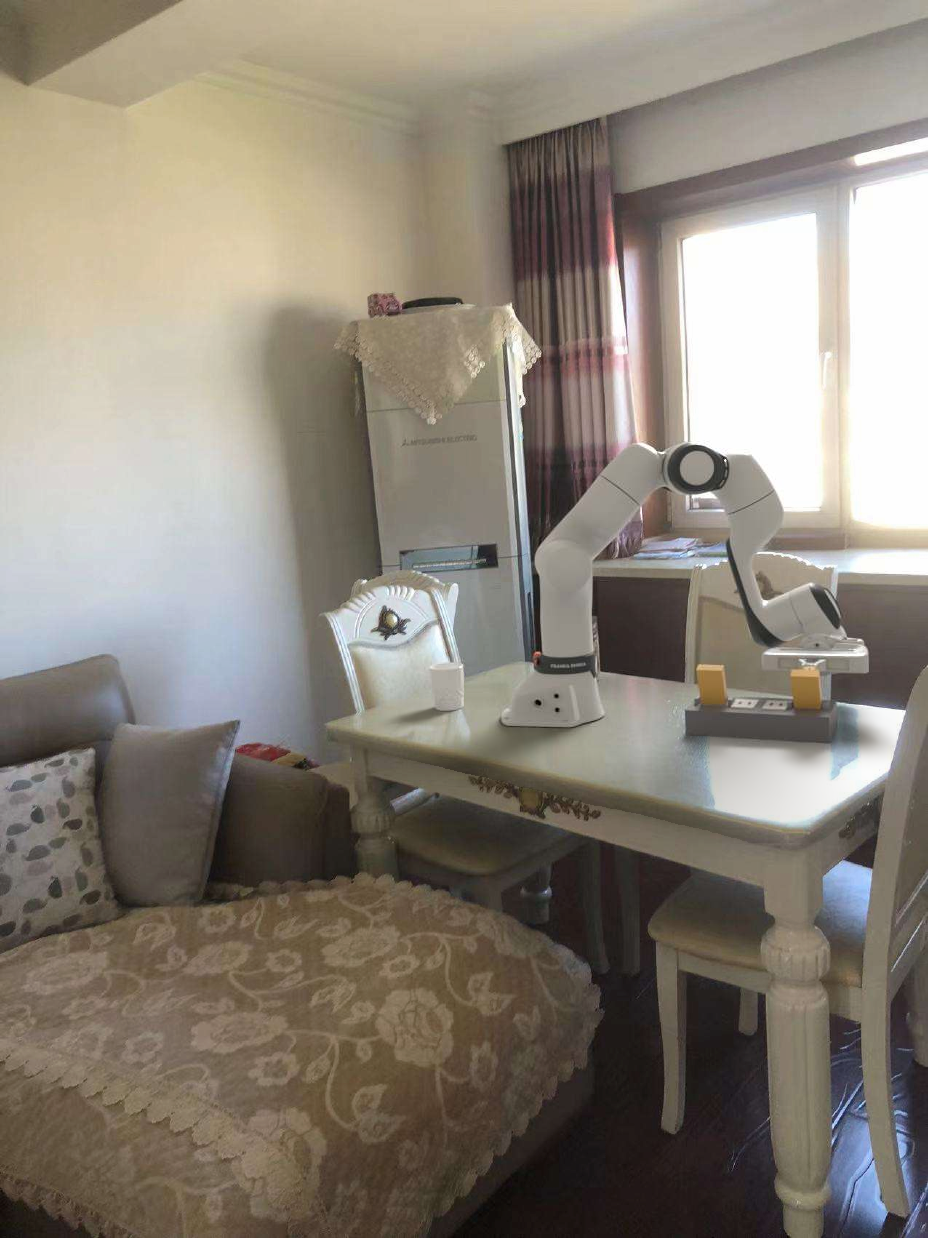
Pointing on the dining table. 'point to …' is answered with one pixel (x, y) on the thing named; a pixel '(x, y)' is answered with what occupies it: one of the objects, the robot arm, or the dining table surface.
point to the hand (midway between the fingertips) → (809, 669)
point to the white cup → (447, 685)
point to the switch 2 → (806, 689)
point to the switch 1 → (712, 684)
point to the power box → (762, 719)
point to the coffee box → (596, 644)
